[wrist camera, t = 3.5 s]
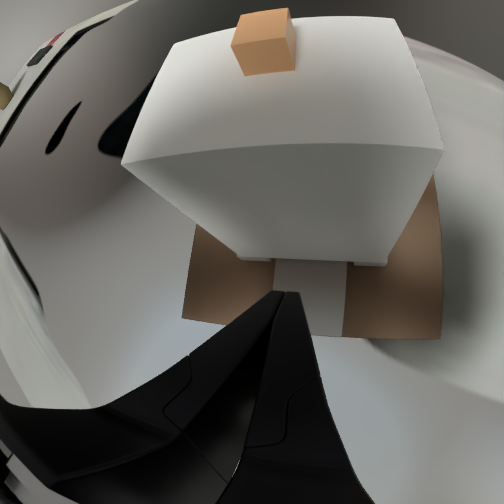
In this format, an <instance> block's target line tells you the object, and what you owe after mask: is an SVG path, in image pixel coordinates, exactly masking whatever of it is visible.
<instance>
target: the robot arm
mask: <svg viewBox="0 0 504 504" xmlns="http://www.w3.org/2000/svg"><path fill="white" fill-rule="evenodd" d="M239 460H240V461H239ZM238 462H239V464H238ZM237 464H238V467H237ZM236 467H237V469H236ZM235 469H236V471H235ZM234 471H235V473H234ZM233 473H234V475H233ZM0 504H375V503H374V501H373V500H372V499H371V497H370V496H369V495H368V494H367V492H366V491H365V489H364V488H363V487H362V485H361V483H360V481H359V480H358V478H357V476H356V474H355V472H354V469H353V467H352V465H351V463H350V460H349V458H348V455H347V453H346V450H345V448H344V445H343V443H342V440H341V438H340V435H339V433H338V431H337V428H336V425H335V423H334V421H333V418H332V415H331V412H330V409H329V406H328V403H327V399H326V395H325V392H324V388H323V384H322V379H321V377H320V371H319V367H318V363H317V359H316V355H315V351H314V346H313V342H312V338H311V334H310V330H309V326H308V322H307V318H306V314H305V310H304V306H303V302H302V299H301V295H300V293H299V292H295V291H287V292H285V291H281V290H271V291H269V292H268V293H267V294H266V295H264V296H263V297H262V298H261V299H259V300H258V301H257V302H256V303H254V304H253V305H252V306H251V307H249V308H248V309H247V310H246V311H244V312H243V313H242V314H241V315H239V316H238V317H237V318H235V319H234V320H233V321H232V322H230V323H229V324H228V325H226V326H225V327H224V328H223V329H221V330H220V331H219V332H217V333H216V334H215V335H213V336H212V337H211V338H210V339H208V340H207V341H206V342H205V343H203V344H202V345H200V346H199V347H198V348H196V349H195V350H194V351H192V352H191V353H190V354H189V356H186V357H184V358H183V359H181V360H180V361H179V362H177V363H176V364H175V365H173V366H172V367H170V368H169V369H167V370H166V371H165V372H163V373H162V374H160V375H158V376H157V377H155V378H153V379H152V380H150V381H148V382H147V383H145V384H143V385H141V386H140V387H138V388H136V389H135V390H132V391H131V392H129V393H127V394H125V395H124V396H122V397H120V398H118V399H116V400H114V401H113V402H110V403H108V404H106V405H103V406H101V407H97V408H92V409H46V408H30V407H21V406H17V405H13V404H11V403H9V402H8V401H7V400H6V399H5V398H4V397H3V396H2V395H1V394H0Z"/></svg>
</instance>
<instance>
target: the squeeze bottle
mask: <svg viewBox="0 0 504 504" xmlns="http://www.w3.org/2000/svg"><path fill="white" fill-rule="evenodd" d="M12 96H13V94H12V93H11V91H10V89H9V87H7V86H6V85H4V84H2V83H1V82H0V109H1V110H3V109H4V108H5V107H6V106H7V104H8V103H9V102H10V100H11V98H12Z"/></svg>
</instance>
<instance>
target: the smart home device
mask: <svg viewBox="0 0 504 504" xmlns="http://www.w3.org/2000/svg"><path fill="white" fill-rule="evenodd" d="M51 48H52V46H51V45H50V46H47V47H45V48H43V49H41V50H39V51H38V52H37V53H36V55H35V56H34V57H33V58H32V59H31V60H30V62H29V63H28V64H27V66H28V67H29V66H32V65H36V64H38V63H39V62H40V60H41V59H42V58H43V57H44V56H45V55H46V54H47V53H48V52H49V50H50V49H51Z"/></svg>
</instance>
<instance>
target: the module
mask: <svg viewBox="0 0 504 504" xmlns="http://www.w3.org/2000/svg"><path fill="white" fill-rule="evenodd" d="M443 151H444V147H443V143H442V139H441V136H440V132H439V129H438V125H437V122H436V118H435V115H434V112H433V109H432V106H431V103H430V100H429V97H428V94H427V91H426V89H425V86H424V83H423V81H422V78H421V76H420V73H419V71H418V68H417V66H416V64H415V61H414V59H413V57H412V54H411V52H410V50H409V48H408V46H407V44H406V42H405V39H404V37H403V35H402V33H401V31H400V30H399V28H398V26H397V24H396V22H395V20H394V19H392V18H379V17H359V16H332V17H331V16H330V17H310V18H296V19H291V17H290V13H289V10H288V8H282V9H274V10H267V11H261V12H255V13H249V14H245V15H241V17H240V19H239V22H238V25H237V27H236V28H231V29H226V30H222V31H218V32H214V33H210V34H206V35H202V36H199V37H195V38H192V39H188V40H185V41H182V42H178V43H176V44H174V45H173V47H172V49H171V50H170V52H169V54H168V56H167V58H166V60H165V62H164V64H163V66H162V67H161V69H160V71H159V73H158V75H157V77H156V79H155V82H154V84H153V86H152V88H151V90H150V92H149V94H148V96H147V99H146V101H145V103H144V105H143V108H142V110H141V112H140V115H139V117H138V119H137V122H136V124H135V127H134V129H133V132H132V134H131V137H130V140H129V142H128V145H127V148H126V150H125V153H124V156H123V159H122V162H121V165H122V166H124V167H125V168H126V169H127V170H129V171H130V172H131V173H133V174H134V175H135V176H136V177H138V178H139V179H140V180H141V181H143V182H144V183H145V184H147V185H148V186H149V187H150V188H152V189H153V190H154V191H155V192H157V193H158V194H159V195H161V196H162V197H163V198H165V199H166V200H167V201H168V202H170V203H171V204H172V205H174V206H175V207H176V208H178V209H179V210H180V211H181V212H183V213H184V214H185V215H187V216H188V217H189V218H191V219H192V220H193V221H195V222H196V223H197V224H198V225H200V226H201V227H202V228H204V229H205V230H206V231H208V232H209V233H210V234H211V235H213V236H214V237H215V238H217V239H218V240H219V241H221V242H222V243H223V244H225V245H226V246H227V247H229V248H230V249H231V250H233V251H234V252H235V253H236V254H237V257H238V258H240V259H241V260H250V261H269V262H271V259H272V258H282V259H304V260H327V261H350V262H354V265H355V266H378V267H385V266H386V265H387V261H388V255H389V253H390V252H391V250H392V248H393V247H394V245H395V243H396V242H397V240H398V238H399V236H400V235H401V233H402V231H403V230H404V228H405V226H406V224H407V222H408V221H409V219H410V217H411V215H412V213H413V212H414V210H415V208H416V206H417V204H418V202H419V200H420V199H421V197H422V195H423V193H424V191H425V189H426V187H427V185H428V183H429V181H430V179H431V177H432V175H433V173H434V170H435V168H436V166H437V164H438V162H439V160H440V158H441V155H442V153H443Z"/></svg>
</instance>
